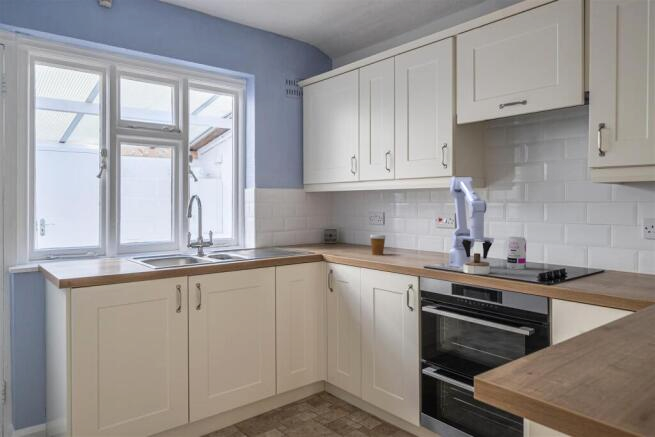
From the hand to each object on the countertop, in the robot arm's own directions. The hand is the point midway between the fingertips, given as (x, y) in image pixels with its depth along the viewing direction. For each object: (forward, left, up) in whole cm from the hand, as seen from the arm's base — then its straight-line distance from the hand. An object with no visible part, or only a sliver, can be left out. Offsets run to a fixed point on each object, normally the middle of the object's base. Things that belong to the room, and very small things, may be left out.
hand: (476, 257), depth 206 cm
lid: (0, +1, -3) cm, 3 cm away
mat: (+7, +12, -7) cm, 15 cm away
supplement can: (+9, +25, -7) cm, 27 cm away
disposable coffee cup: (-73, +28, -7) cm, 78 cm away
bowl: (0, 0, -7) cm, 7 cm away
